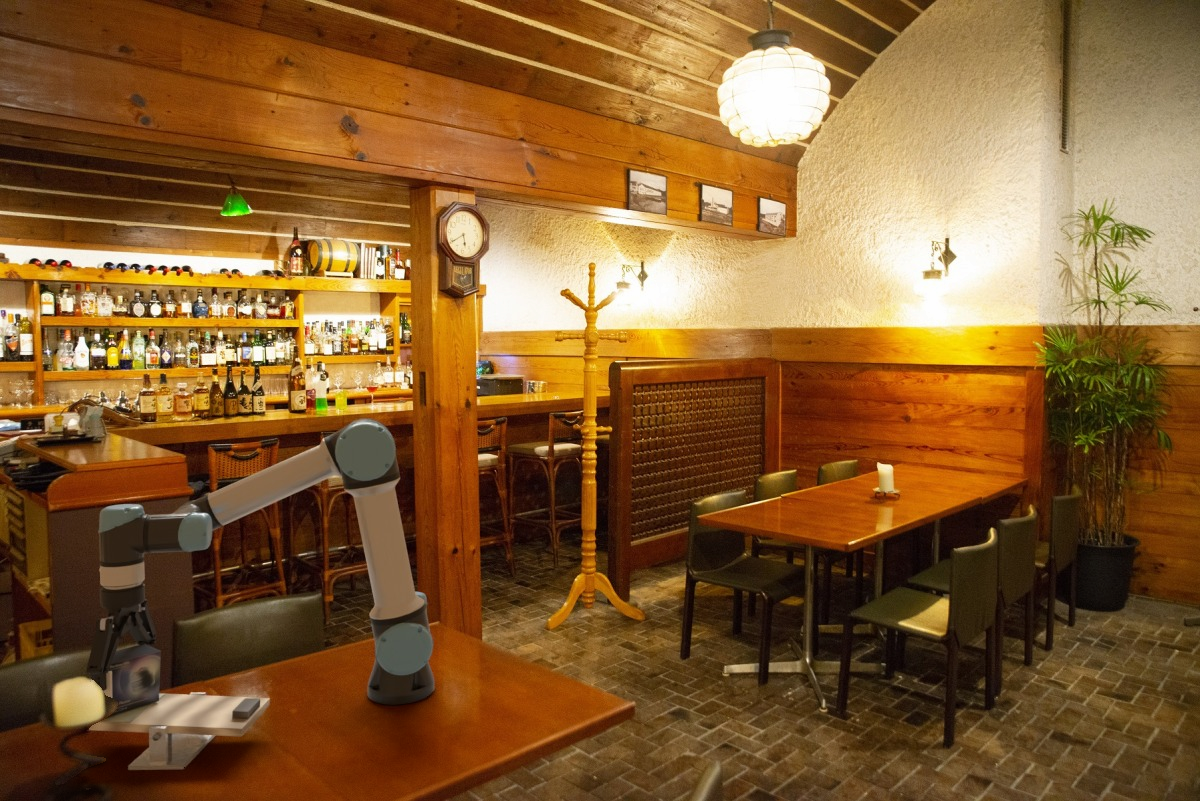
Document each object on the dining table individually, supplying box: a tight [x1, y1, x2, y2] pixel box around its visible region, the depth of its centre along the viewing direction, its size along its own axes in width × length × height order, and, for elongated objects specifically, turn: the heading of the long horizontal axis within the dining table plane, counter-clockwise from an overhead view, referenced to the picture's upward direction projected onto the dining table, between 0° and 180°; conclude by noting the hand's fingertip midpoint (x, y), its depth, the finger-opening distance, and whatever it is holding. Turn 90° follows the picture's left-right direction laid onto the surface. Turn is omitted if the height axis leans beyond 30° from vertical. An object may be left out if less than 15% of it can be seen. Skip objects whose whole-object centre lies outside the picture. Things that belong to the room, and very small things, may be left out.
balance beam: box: [88, 692, 271, 737], centre depth 156 cm, size 30×14×3 cm, turn 92°
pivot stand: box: [127, 691, 217, 771], centre depth 156 cm, size 10×18×8 cm, turn 2°
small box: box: [90, 644, 162, 716], centre depth 156 cm, size 11×6×10 cm, turn 148°
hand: (124, 691), depth 156 cm, fingers open, 13 cm apart
